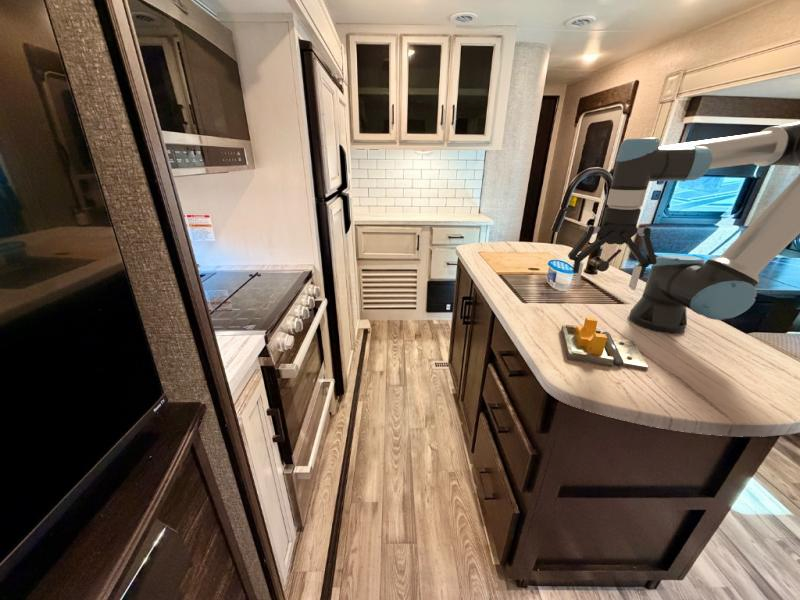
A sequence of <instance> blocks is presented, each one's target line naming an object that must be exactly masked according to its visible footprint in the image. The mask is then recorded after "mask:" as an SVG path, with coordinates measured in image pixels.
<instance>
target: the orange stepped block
mask: <svg viewBox="0 0 800 600" xmlns="http://www.w3.org/2000/svg"><path fill="white" fill-rule="evenodd" d="M597 324H598V320H597V317H590V316H586V317H585V319H584V323H583V325H582V326H581V325H576V326H577V328H576V332H575V337H576V339H577V341H578V344H579V346H585V347H586V348H587V350H588V352H589V353H592V354H598V355H602V354H603V351H604V348H605V349H606V346H605V344H606V341H607V336H606V335H605V334H602V333H600V334H598V333H596V329H597Z"/></svg>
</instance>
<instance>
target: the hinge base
mask: <svg viewBox="0 0 800 600" xmlns="http://www.w3.org/2000/svg"><path fill="white" fill-rule="evenodd" d="M577 326H578V325H571V324H564V325H563V324H562V326H561V329H560V331H561V336H562V340H563V346H564V351H565V354H566V359H567V360H568V361H574V362H581V363H585V364H591V365H597V366H603V367H608V368H612V366H615V367H626V368H632V369H637V370H642V371H643V370H644V371H648V369H649V366H648V364H647V362H646V361H645V358H644V357H643V356H642V355H641V353H640V351H639V349H638V348H637V345H636V344H635V342H634V340H630V339H623V338H617V337H612V335H611V334H610V332H608V331H603V332H602V330H601V329H600V328H596V333H598V334H605V335H606V336H607V341H606V344H605V348H604V351H603V354H602V355H598V354H592V353H589V352H588V350H587V348H586V347H585V346H579V344H578V341H577V339H576V337H575V332H576V328H577Z"/></svg>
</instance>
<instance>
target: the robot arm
mask: <svg viewBox="0 0 800 600" xmlns="http://www.w3.org/2000/svg"><path fill="white" fill-rule="evenodd" d="M660 142H661V141H660V138H659V137H639V138H638V137H637V138H628V139H625V140H623V141H622V142H621V144H620V146H619V148H618V151H617V152H618V153H617V156H616V158H615V165H614V170H613V174H612V179H611V183H610V189H609V191H608V192H609V193H608V196H607V200H606V205H607V206H606V207H605V209H604V213H603V218H602V220H601V221H602V222H601V225H600V226H594V225H592V224H588V225H587V226H586V230H585V231H584V233H583V234H582V236H581V238H580V239H579V240H578V241H577V243H576V244H575V245H574V247H573V248H572V249H571V250H570V252H568V254H567V256H568V259H569V260H571V261H573V265H572V272H573V274H574V275H575V276H574V281H573V283H574V285H575V286H579V285H580V282H581V277H582V272H583V267H584V262H583V260H585V259H587V257H588V256H590V255H591V254H592V253H593V252H595V251H596V250H597V249H598V248H599V247H601V246H604V245H605V244H607V245H619V246H620V245H621V246H622V245H623V244H624V245H626V246H627V247H628V249H629V250H630V251H631V254H633V256H634V257H635V259H636V260H637V262H638V263H634V267H633V269H632V272H631V273H632V274H631V277H630V281H629V285H628V287H629V288H630V290H632V291H636V290H637V286H638V282H639V278H643V277H644V275H645V272H646V269H647V268H648V267H649V266H650V267H651V268H650V271H649V275H648V277H647V281H646V283H645V286H644V289H643V293H642V296H641V298H640V299H638V301H637V302H636V304H634V306H633V307H632V308H631V310H630V313H629V315H628V318H629V320H630V321H631V322H632V323H633V324H636V325H637V326H639V327H642V328H643V329H646V330H649V331H653V332H657V333H662V334H670V335H671V334H673V335H674V334H677V335H678V334H681V333H683V332H685V330H686V328H687V325H688V317H687V309H689V310H691V311H692V312H693V313H695V314H697V315H700V316H703V317H705V318H707V319H710V320H715V321H716V320H717V321H721V320H726V319H727V320H728V319H733V318H735V317H737V316H739V315H742V314H743V313H745V312H747V311H748V310H749V309H751V307H752V306H753V305H754V303H755V302H756V297H757V296H758V293H757V292H758V291H757V289H756V288H755V287H756V286H757V285H758V284H759V283H760V278H759V274H760V272H761V271H763V269H764V268H766V267H767V266H768V264H770V263H771V262H772V261H773V259H775V258H776V257H777V256H778V255H780V253H781V252H782V251H783V250H784V249H785V248H787V246H788V245H789V244H791V243H792V242H793V241H794V240H795V239H796V238H797V237H798V236H799V235H800V173H799V174H798V175H797V176H796V177H795V178H794V179H793V181H791V182H790V184H788V186H786V188H784V190H783V191H782V192H781V193H780V194H779V195H778V196H777V197H776V198H775V199H773V201H772V202H771V203H770V204H769V205H768V206H767V207H766V208H765V209H764V211H762V212H761V213H760V215H758V217H756V218H755V220H753V222H752V223H751V224H750V225H748V227H747V228H746V229H745V230H744V231H743V232H742V233H741V234H740V235H739V236H738V237H737V238H736V239H735V241H734V242H733V243H732V244H731V245H730V246H729V247H727V249H726V250H724V252H723V253H722V254H721V255H720V256H717V257H716V256H715V257H712V258H708V259H706V261H705V259H704V258H703V257H702V258H701V257H698V256H691V255H681V254H680V255H679V254H660V255H658V256H656V253H655V251H654V247H653V244H652V240H651V231H652V229H651V228H650V227H648V226H646V225H645V226H642V227H638V223H639V219H640V216H641V212H642V210H641V207H642V206H643V204H644V200H645V196H646V193H647V189H648V186H649V183H650V182H679V181H680V182H686V181H694V180H695V181H696V180H698V179H700V178H702V177H703V176H705V174H707V172H708V171H709V170H711V169H719V168H728V167H736V166H737V167H738V166H743V165H744V166H745V165H755V166H758V167H767V166H768V167H769V166H791V167H792V166H793V167H798V168H799V169H800V121H796V122H792V123H791V122H790V123H785V124H781V125H775V126H768V127H766V128H764V129H762V130H761V131H759V132H752V133H747V134H746V133H745V134H739V135H732V136H725V137H717V138H710V139H709V138H708V139H703V140H696V141H686V142H680V143H674V144H665V145H660ZM597 232H598V233H599V236H598V237H596V239H595V240H594V241H593V242H592V243H590V244H589V245H588V246H586V244H587V243H588V242H589V241H590V239H591V238H592V236H594V235H595V234H596V233H597ZM636 234H638V236H639V237H640V239H641V243H642V246H643V250H644V252H645V256H646V258H645V257H644V256H643V254H642V252H640V250H639V248H638V247H637V246H636V244H635V242H634V241H633V239H632V237H634V236H635V235H636ZM585 246H586V248H584V247H585ZM583 248H584V249H583ZM582 249H583V250H582Z"/></svg>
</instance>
